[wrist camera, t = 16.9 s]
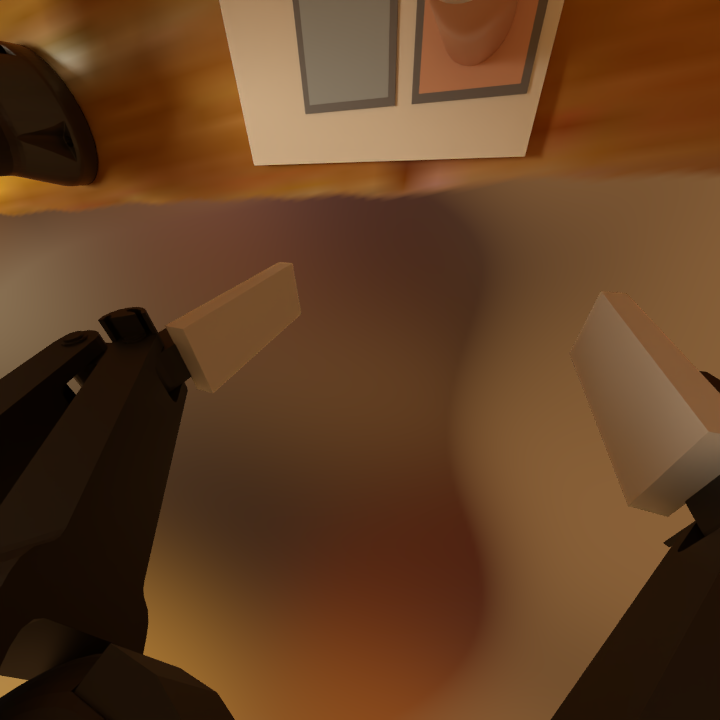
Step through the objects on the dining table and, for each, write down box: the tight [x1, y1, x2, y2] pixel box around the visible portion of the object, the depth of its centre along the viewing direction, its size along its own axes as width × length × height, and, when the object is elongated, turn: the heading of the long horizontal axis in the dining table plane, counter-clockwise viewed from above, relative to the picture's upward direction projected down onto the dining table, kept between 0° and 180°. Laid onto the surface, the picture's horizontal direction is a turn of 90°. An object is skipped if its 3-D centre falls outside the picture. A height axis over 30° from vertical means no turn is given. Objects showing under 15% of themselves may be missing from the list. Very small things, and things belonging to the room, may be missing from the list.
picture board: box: [219, 0, 564, 165], centre depth 24 cm, size 28×17×1 cm, turn 92°
